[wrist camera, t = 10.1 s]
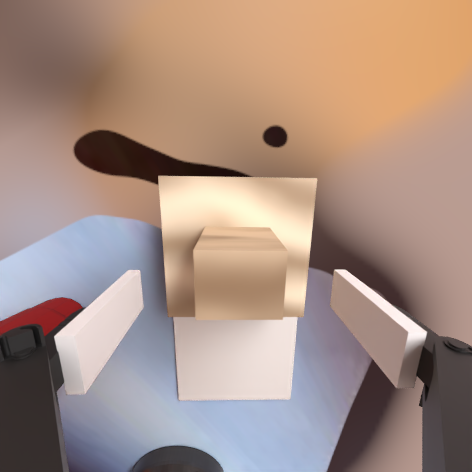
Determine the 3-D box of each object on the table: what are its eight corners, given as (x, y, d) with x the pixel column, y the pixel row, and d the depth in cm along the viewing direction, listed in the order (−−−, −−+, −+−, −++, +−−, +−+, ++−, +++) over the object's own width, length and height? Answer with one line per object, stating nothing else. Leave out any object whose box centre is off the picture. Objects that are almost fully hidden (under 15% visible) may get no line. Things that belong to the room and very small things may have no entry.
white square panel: (289, 395, 34) (290, 399, 33) (179, 396, 33) (178, 400, 33) (297, 297, 30) (299, 299, 29) (173, 297, 29) (172, 299, 29)
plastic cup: (30, 352, 31) (-91, 459, 19) (14, 278, 28) (-138, 350, 16) (112, 354, 31) (42, 459, 20) (104, 281, 28) (17, 353, 17)
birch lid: (301, 312, 25) (332, 372, 17) (169, 312, 24) (142, 374, 17) (314, 178, 21) (360, 178, 14) (160, 175, 21) (121, 175, 13)
